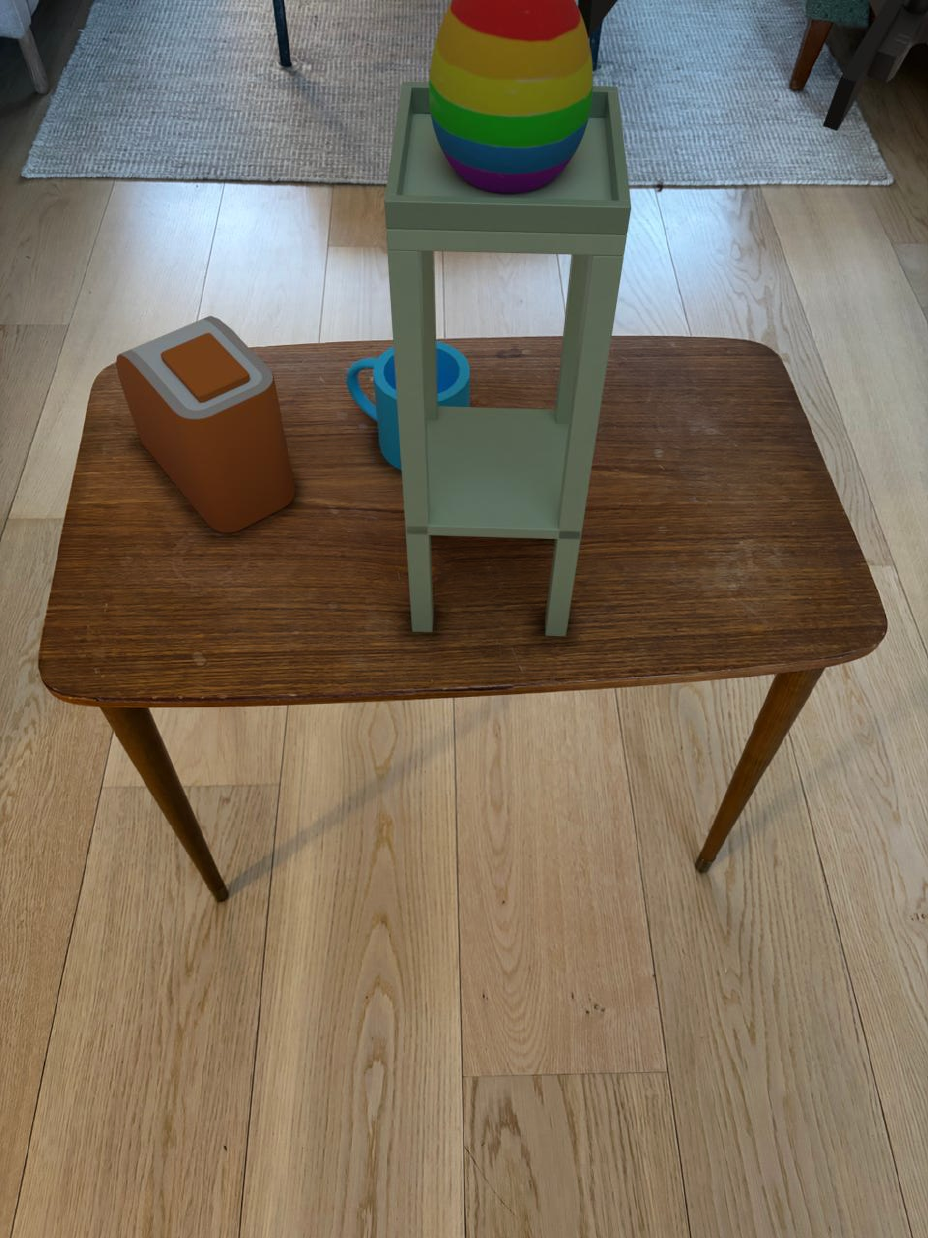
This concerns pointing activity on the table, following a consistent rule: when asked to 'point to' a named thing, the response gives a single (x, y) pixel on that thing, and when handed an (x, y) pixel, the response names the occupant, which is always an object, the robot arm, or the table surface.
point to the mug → (449, 389)
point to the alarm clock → (211, 422)
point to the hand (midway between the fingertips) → (707, 57)
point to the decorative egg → (510, 90)
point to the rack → (565, 437)
